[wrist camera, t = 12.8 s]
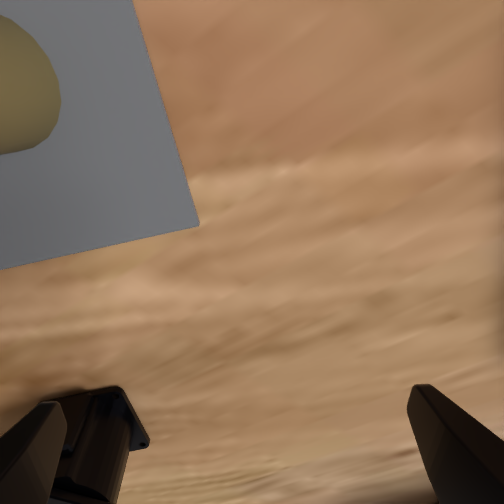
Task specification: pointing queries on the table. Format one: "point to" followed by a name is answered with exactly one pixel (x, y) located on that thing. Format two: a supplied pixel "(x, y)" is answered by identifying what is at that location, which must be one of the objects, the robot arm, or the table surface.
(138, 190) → the mat
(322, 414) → the table surface
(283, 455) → the table surface
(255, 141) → the table surface
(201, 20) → the table surface
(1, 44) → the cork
